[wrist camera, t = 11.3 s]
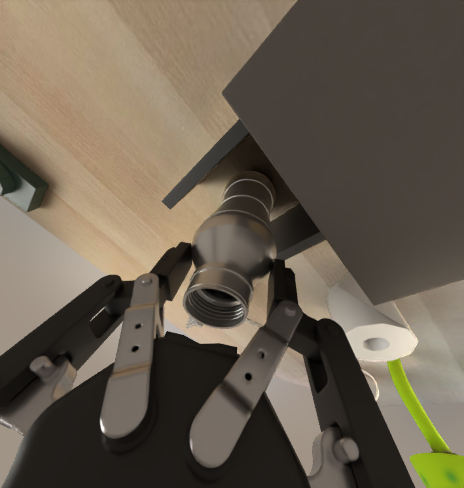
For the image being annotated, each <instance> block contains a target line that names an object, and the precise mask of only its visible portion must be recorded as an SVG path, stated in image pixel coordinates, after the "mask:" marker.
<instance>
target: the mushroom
mask: <svg viewBox="0 0 464 488" xmlns="http://www.w3.org/2000/svg"><path fill="white" fill-rule="evenodd" d="M387 363H388V368H389V371H390V374H391V377H392V380H393V382H394V384H395V387H396V388H397V390H398V392H399V394H400V396H401V398H402V400H403V402H404V403H405V405H406V407H407V408H408V410H409V412H410V413H411V415H412V417H413V418H414V420H415V421H416V423H417V425H418V427H419V428H420V430H421V431H422V433H423V434H424V436H425V438H426V440H427V441H428V443H429V444H430V446H431V448H432V450H433V452H431V453H421V454H416V455H413V456H411V457H410V461H411V463H412V465H413V466H414V468H415V470H416V471H417V473H418V475H419V476H420V478H421V480H422V481H423V483H424V484H425V486H426V488H464V456H460V455H457V454H455V453H452V452H451V450H450V449H449V448H448V446H447V445H446V444H445V442H444V441H443V440H442V438H441V436H440V435H439V433H438V432H437V430H436V429H435V427H434V426H433V424H432V422H431V421H430V419H429V418H428V416H427V415H426V413H425V411H424V409H423V408H422V406H421V404H420V402H419V401H418V399H417V397H416V395H415V393H414V391H413V390H412V388H411V386H410V384H409V381H408V379H407V377H406V375H405V372H404V370H403V367H402V365H401V362H400V359H399V358H398V359H396V360H393V361H387Z"/></svg>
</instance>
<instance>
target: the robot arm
mask: <svg viewBox="0 0 464 488" xmlns="http://www.w3.org/2000/svg"><path fill="white" fill-rule="evenodd" d="M191 265H192V245H191V243H185V242H180V243H179V244H178V246H177V247H176V248H174V247H172V248H171V249H169V250H167V251H166V253H165V254H164V255H163V256H162V258H161V259H160V260H159V261H158V263H157V264H156V265H155V266H154V268H153V269H152V270H151V271H150V273H146V274H143V275H141V276H139V277H138V278H137V279H136V280H133V281H122V280H121V277H120V276H118V275H108V276H105V277H103V278H101V279H99V280H98V281H97V282H95V283H94V284H93V285H92V286H90V287H89V288H88V289H86V290H85V291H84V292H83V293H81V294H80V295H79V296H77V297H76V298H75V299H73V300H72V301H71V302H70V303H68V304H67V305H66V306H65V307H63V308H62V309H61V310H59V311H58V312H57V313H55V314H54V315H53V316H52V317H50V318H49V319H48V320H46V321H45V322H44V323H43V324H41V325H40V326H39V327H37V328H36V329H35V330H33V331H32V332H31V333H30V334H28V335H27V336H26V337H24V339H22V340H20V341H19V342H18V343H17V344H15V345H14V346H13V347H11V348H10V349H9V350H8V351H6V352H5V353H4V354H2V355H1V356H0V424H1V425H3V426H5V427H7V428H11V429H14V430H16V431H17V432H18V433H20V434H22V435H23V436H24V438H23V440H22V442H21V444H20V447H19V449H18V452H17V454H16V457H15V460H14V462H13V465H12V467H11V469H10V471H9V474H8V476H7V478H6V480H5V482H4V483H3V485H2V487H1V488H415V486H414V484H413V482H412V480H411V477H410V475H409V473H408V471H407V469H406V466H405V464H404V462H403V460H402V458H401V455H400V453H399V451H398V449H397V446H396V444H395V442H394V440H393V438H392V435H391V433H390V431H389V429H388V427H387V424H386V422H385V420H384V418H383V416H382V414H381V411H380V409H379V407H378V405H377V402H376V400H375V398H374V396H373V394H372V391H371V389H370V387H369V385H368V383H367V380H366V378H365V376H364V374H363V372H362V369H361V367H360V365H359V363H358V361H357V358H356V356H355V354H354V352H353V350H352V347H351V345H350V343H349V341H348V339H347V336H346V334H345V332H344V330H343V328H342V327H341V326H340V325H339V324H338V323H337V322H335V321H333V320H331V319H327V318H323V319H320V320H319V321H317V320H315V319H313V318H311V317H309V316H307V315H306V314H305V313H303V312H302V309H301V308H300V306H299V305H298V299H297V290H296V282H295V274H294V272H293V271H292V269H290V268H285V260H281V259H275V258H274V259H273V263H272V267H271V271H270V275H269V281H268V302H267V322H266V323H265V325H264V326H261V327H260V328H259V330H258V331H257V332H256V334H255V335H254V337H253V338H252V340H251V341H250V342H249V344H248V345H247V347H246V348H245V350H244V351H243V353H242V354H241V355H239V354H237V347H233V346H229V345H224V344H220V343H217V344H199V343H197V342H195V341H193V340H192V339H190V338H188V337H186V336H184V335H181V334H177V333H172V332H168V331H167V332H166V334H165V336H164V303H165V302H166V300H168V301H172V300H173V298H174V297H175V295H176V293H177V291H178V289H179V288H180V286H181V284H182V282H183V280H184V279H185V277H186V275H187V273H188V271H189V270H190V268H191ZM103 307H105V308H104V309H103V310H102V311H101V312H100V313H99V314H98V315H97V316H96V317H95V318H94V319H93V320H92V321H91V322H90V320H91V319H92V317H94V316H95V315H96V314H97V313H98V312H99V311H100V310H101V309H102V308H103ZM122 321H123V325H122V329H121V335H120V339H119V344H118V349H117V354H116V359H115V362H114V363H112V364H111V365H109V366H108V367H106V368H105V369H103V370H102V371H100V372H98V373H97V374H95V375H94V376H92V377H91V378H89V379H88V380H86V381H85V382H83V383H82V384H80V385H79V386H77V387H76V388H74V389H72V387H73V382H74V381H75V379H76V376H77V371H78V370H79V368H80V367H81V366H82V365H83V364H84V363H85V362H86V361H87V360H88V358H89V357H90V356H91V355H92V354H93V353H94V352H95V351H96V350H97V349H98V348H99V346H100V345H101V344H102V343H103V342H104V341H105V340H106V339H107V338H108V337H109V336H110V335H111V333H112V332H113V331H114V330H115V329H116V328H117V327H118V326H119V325H120V323H122ZM288 347H290V348H292V349H293V350H295V351H297V352H299V353H300V354H302V355H303V358H304V362H305V366H306V371H307V375H308V379H309V383H310V387H311V391H312V396H313V400H314V404H315V408H316V412H317V416H318V420H319V425H320V429H321V433H320V434H319V435H318V436H317V437H316V438H315V440H314V442H313V446H312V452H313V467H312V470H311V472H310V474H309V476H307V475H306V473H305V471H304V469H303V467H302V465H301V463H300V460H299V458H298V457H297V454H296V453H295V450H294V448H293V446H292V445H291V442H290V441H289V438H288V437H287V434H286V433H285V431H284V428H283V426H282V424H281V422H280V420H279V418H278V416H277V414H276V412H275V410H274V408H273V406H272V404H271V402H270V400H269V398H268V397H267V394H266V392H265V391H266V389H267V387H268V385H269V383H270V381H271V379H272V377H273V375H274V373H275V371H276V369H277V367H278V365H279V363H280V361H281V359H282V357H283V355H284V353H285V351H286V349H287V348H288ZM71 389H72V390H71ZM70 390H71V391H70Z"/></svg>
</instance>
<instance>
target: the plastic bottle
mask: <svg viewBox="0 0 464 488" xmlns="http://www.w3.org/2000/svg"><path fill="white" fill-rule="evenodd" d="M275 198H276V194H275V189H274V187H273V184H272V183H271V182H270V180H269V179H268V178H267V177H266V176H265V175H263V174H262V173H259V172H256V171H245V172H241V173H239V174H237V175H235V176H234V177H233V178H231V179H230V180H229V182H228V183H227V185H226V187H225V189H224V193H223V200H222V203H221V205H220V206H219V207H218V209H217V210H216V211H215V212H214V213H213V214H212V215H211V216H210V217H209V218H207V219H206V220H205V221H204V222H203V224H202V225H201V226H200V227H199V228H198V230H197V231H196V233H195V235H194V237H193V242H192V259H193V263H194V266H195V269H196V270H195V272H194V274H193V275H192V277H191V279H190V285H189V287H188V288H187V290H186V292H185V294H184V298H183V306H184V309H185V310H186V312H187V313H188V314H189V315H190V316H191V317H192V318H193V319H194V320H196V321H198V322H199V323H201V324H203V325H206V326H209V327H213V328H219V329H229V328H234V327H237V326H239V325H241V324H242V323H243V322H244V321H245V320H246V318H247V315H248V312H249V305H250V301H251V300H252V296H253V290H254V288H253V287H254V286H256V285H257V284H259V283H260V282H261V281H263V280H264V279H265V278H266V277H267V276H268V274H269V273H270V271H271V267H272V263H273V259H274V258H275V259H276V244H275V239H274V236H273V232H272V229H271V226H270V213H271V211H272V209H273V206H274V203H275Z"/></svg>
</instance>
